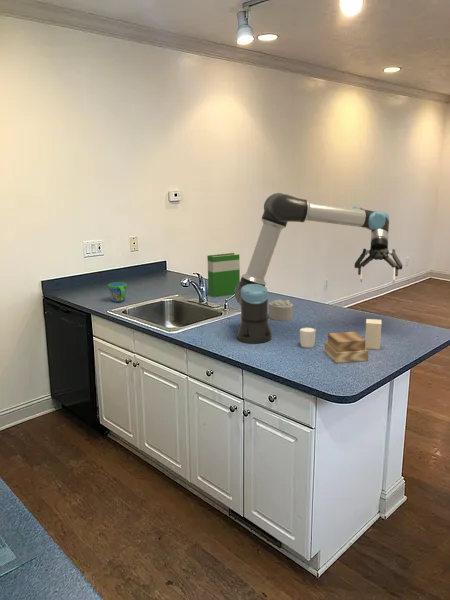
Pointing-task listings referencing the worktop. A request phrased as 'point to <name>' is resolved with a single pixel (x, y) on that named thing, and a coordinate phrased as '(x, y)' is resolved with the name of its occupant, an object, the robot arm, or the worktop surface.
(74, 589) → the worktop surface
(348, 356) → the block tower
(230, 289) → the hardback book
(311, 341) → the shot glass
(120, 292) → the snack cup
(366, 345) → the cream brick
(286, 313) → the lumpy-topped squat cylinder
